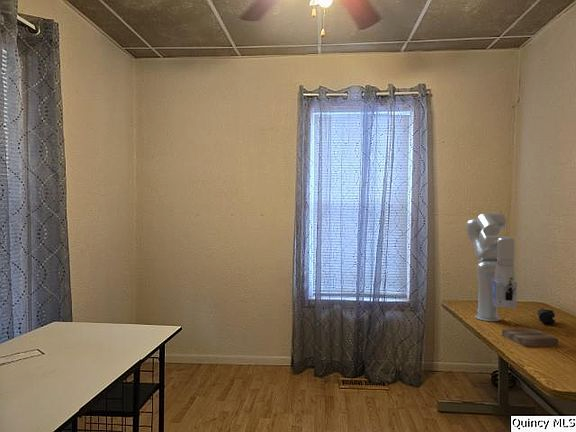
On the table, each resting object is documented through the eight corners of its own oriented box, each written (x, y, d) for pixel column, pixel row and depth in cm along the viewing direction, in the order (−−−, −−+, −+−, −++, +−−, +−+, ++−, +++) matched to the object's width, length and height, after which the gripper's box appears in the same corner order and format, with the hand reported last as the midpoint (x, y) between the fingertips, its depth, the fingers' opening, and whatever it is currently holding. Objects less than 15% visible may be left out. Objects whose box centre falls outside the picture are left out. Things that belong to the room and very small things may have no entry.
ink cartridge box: (513, 305, 210) (514, 276, 209) (517, 308, 204) (517, 278, 204) (492, 304, 212) (492, 275, 211) (495, 307, 206) (495, 278, 206)
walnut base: (502, 335, 201) (502, 329, 201) (533, 334, 202) (533, 328, 202) (524, 346, 185) (524, 339, 185) (558, 345, 186) (558, 338, 186)
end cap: (537, 319, 231) (537, 307, 231) (552, 321, 228) (552, 309, 228) (538, 324, 222) (539, 311, 222) (554, 325, 219) (554, 313, 219)
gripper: (488, 260, 215) (487, 294, 216) (509, 265, 198) (508, 303, 199) (502, 260, 216) (501, 294, 217) (523, 265, 199) (523, 302, 200)
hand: (504, 298), depth 208 cm, fingers closed on ink cartridge box, 6 cm apart
